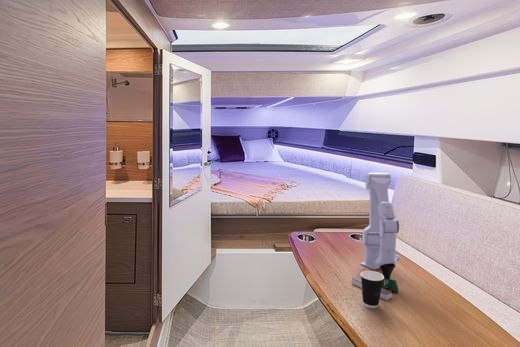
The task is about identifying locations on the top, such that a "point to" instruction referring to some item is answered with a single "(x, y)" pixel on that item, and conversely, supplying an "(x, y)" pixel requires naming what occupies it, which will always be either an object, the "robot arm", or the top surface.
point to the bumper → (384, 293)
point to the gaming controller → (390, 284)
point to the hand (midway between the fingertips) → (385, 280)
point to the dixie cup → (371, 288)
